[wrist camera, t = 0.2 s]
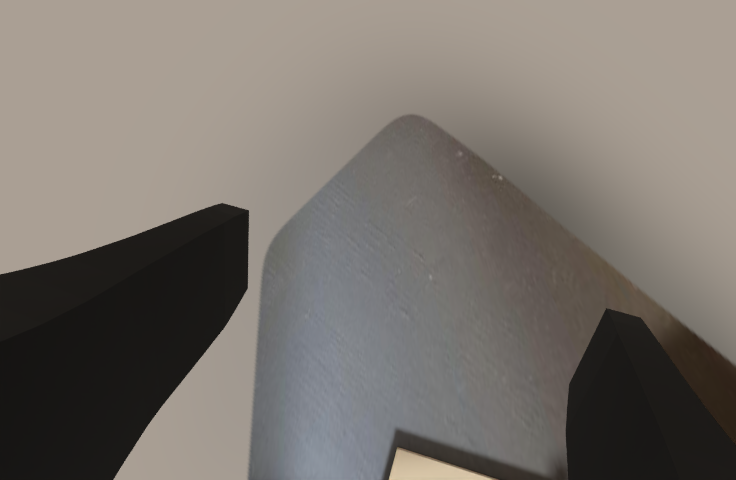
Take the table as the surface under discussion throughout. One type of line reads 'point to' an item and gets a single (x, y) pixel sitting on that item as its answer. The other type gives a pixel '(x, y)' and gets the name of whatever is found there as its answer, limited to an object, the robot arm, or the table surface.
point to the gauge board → (428, 468)
